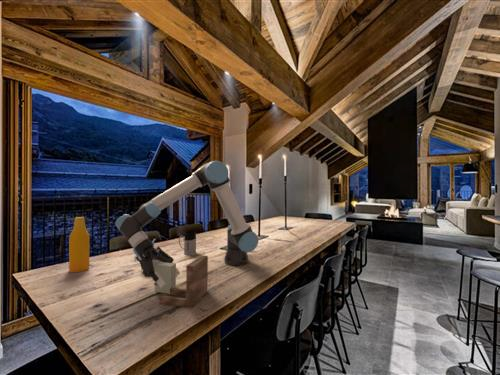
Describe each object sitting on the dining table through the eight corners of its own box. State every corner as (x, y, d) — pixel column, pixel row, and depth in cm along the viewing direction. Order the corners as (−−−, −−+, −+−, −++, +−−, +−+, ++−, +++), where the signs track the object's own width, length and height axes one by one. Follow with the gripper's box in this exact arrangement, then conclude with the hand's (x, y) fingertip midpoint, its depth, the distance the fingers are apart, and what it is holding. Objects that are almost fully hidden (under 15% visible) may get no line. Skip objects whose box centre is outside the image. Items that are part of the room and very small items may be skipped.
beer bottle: (91, 269, 131) (91, 217, 130) (70, 273, 124) (70, 219, 124) (87, 265, 137) (87, 215, 137) (67, 269, 130) (67, 217, 130)
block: (153, 292, 104) (153, 265, 104) (160, 287, 109) (160, 262, 108) (169, 294, 102) (169, 267, 102) (175, 289, 107) (175, 263, 107)
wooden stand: (159, 303, 95) (159, 263, 94) (178, 287, 109) (178, 253, 109) (192, 307, 91) (192, 266, 91) (207, 291, 106) (207, 255, 105)
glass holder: (199, 253, 164) (199, 231, 164) (183, 258, 152) (183, 235, 152) (190, 251, 169) (190, 230, 169) (174, 255, 157) (174, 233, 157)
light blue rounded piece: (152, 258, 151) (152, 242, 151) (129, 259, 148) (129, 243, 148) (155, 252, 164) (155, 238, 164) (135, 253, 161) (135, 238, 161)
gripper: (152, 242, 120) (179, 275, 117) (116, 256, 97) (148, 297, 94) (161, 232, 119) (189, 265, 116) (127, 244, 96) (160, 285, 93)
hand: (171, 280), depth 105 cm, fingers open, 11 cm apart
